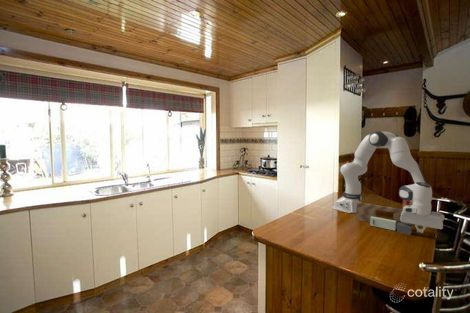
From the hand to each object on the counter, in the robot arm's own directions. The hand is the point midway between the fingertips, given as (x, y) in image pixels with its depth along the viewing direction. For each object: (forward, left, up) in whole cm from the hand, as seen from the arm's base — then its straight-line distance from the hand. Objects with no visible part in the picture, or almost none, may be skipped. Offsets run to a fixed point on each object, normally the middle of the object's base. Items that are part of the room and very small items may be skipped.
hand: (420, 232), depth 142 cm
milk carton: (-8, +38, -2) cm, 39 cm away
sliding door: (-19, 0, -2) cm, 19 cm away
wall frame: (-20, +6, -2) cm, 21 cm away
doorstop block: (-8, 0, -2) cm, 8 cm away
